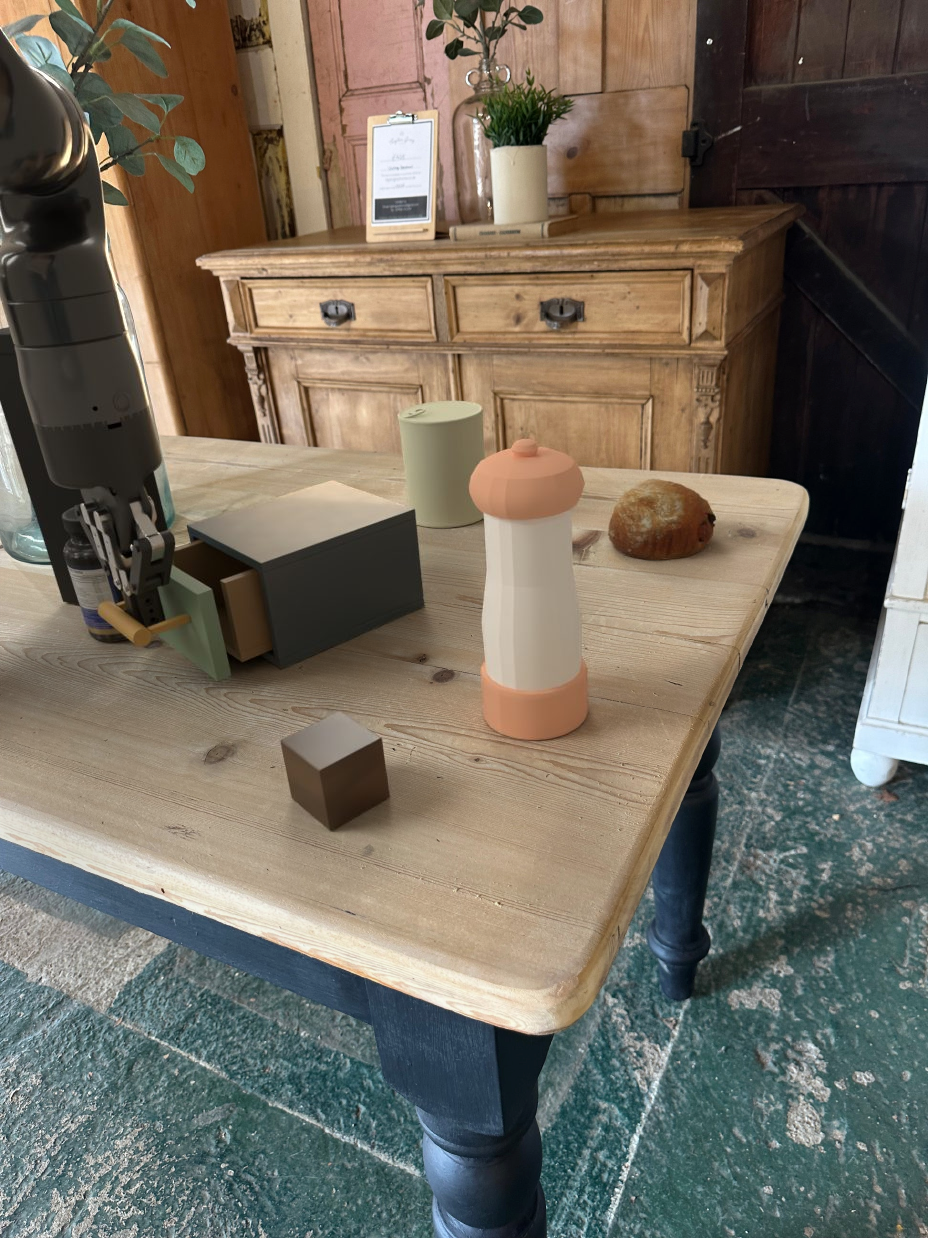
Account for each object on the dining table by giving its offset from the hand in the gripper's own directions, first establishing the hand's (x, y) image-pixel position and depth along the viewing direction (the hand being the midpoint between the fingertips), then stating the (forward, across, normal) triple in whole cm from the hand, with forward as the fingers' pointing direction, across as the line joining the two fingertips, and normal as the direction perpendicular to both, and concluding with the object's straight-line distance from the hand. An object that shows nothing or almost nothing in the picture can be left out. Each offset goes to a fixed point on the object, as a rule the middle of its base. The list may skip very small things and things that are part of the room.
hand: (150, 631), depth 66 cm
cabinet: (+4, 0, +14) cm, 15 cm away
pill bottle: (+4, -11, +1) cm, 12 cm away
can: (+4, -10, +38) cm, 40 cm away
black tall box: (+4, -19, +4) cm, 20 cm away
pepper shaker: (+4, +25, +16) cm, 30 cm away
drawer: (+3, 0, +7) cm, 7 cm away
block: (+4, +23, +1) cm, 23 cm away
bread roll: (+4, +13, +46) cm, 48 cm away
